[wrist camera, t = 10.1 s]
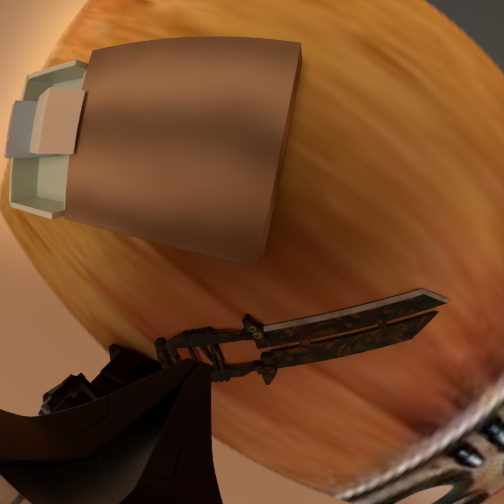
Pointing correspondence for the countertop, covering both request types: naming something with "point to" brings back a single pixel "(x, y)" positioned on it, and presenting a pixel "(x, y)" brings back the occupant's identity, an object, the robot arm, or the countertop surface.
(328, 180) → the countertop surface
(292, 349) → the knife
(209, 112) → the board
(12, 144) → the grey block
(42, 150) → the cream block
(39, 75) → the tray
